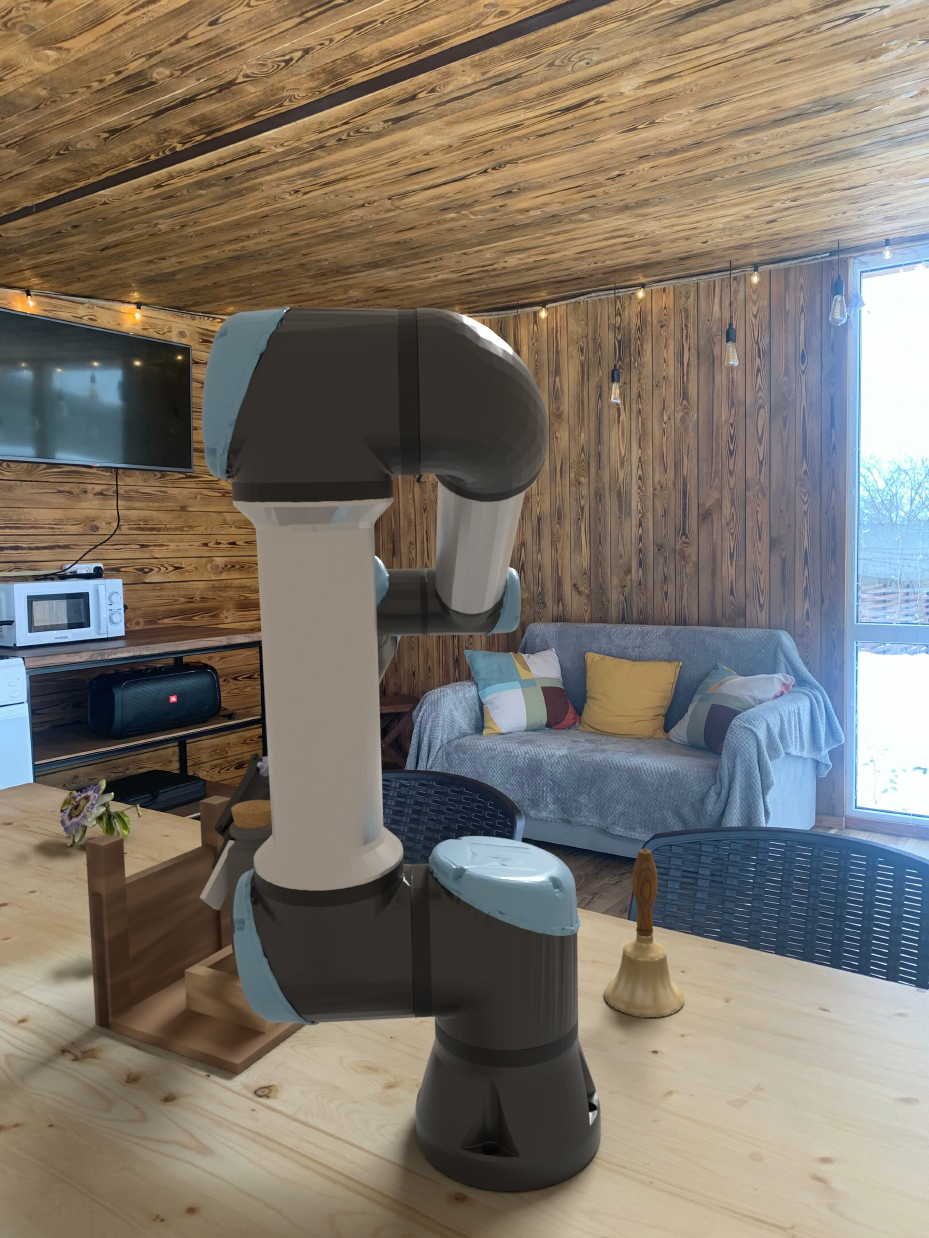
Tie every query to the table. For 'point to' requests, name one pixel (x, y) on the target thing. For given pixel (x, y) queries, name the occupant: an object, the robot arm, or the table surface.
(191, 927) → the wooden holder stand
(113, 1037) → the table surface
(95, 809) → the passion flower
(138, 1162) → the table surface
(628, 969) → the hand bell
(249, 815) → the bottle
